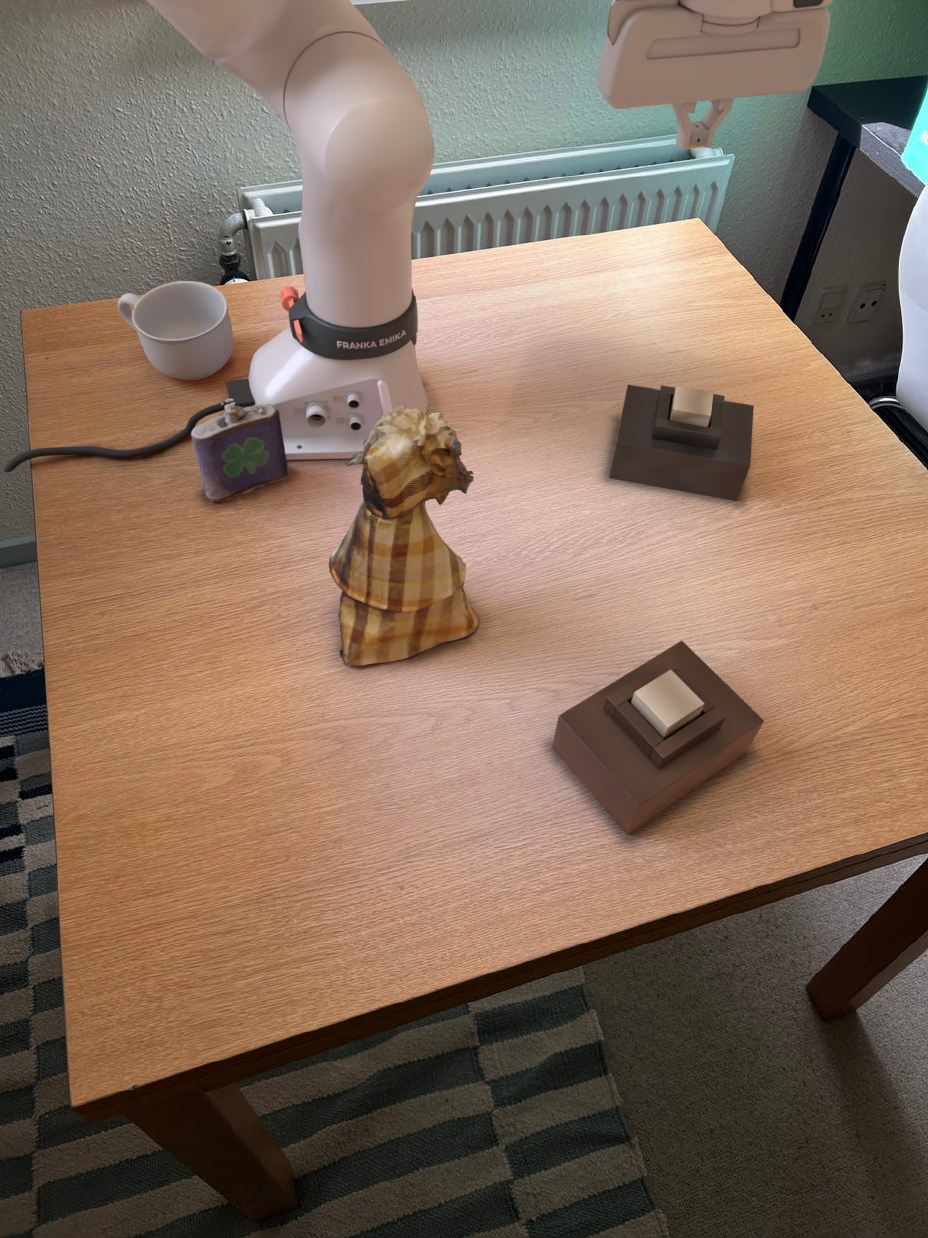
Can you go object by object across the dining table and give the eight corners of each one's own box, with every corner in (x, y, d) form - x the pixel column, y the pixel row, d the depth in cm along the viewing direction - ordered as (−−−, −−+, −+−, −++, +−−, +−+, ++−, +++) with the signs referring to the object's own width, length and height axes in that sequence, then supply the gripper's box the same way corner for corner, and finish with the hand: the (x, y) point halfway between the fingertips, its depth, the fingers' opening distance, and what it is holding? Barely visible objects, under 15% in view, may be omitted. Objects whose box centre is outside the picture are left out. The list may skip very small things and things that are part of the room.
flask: (211, 506, 96) (191, 427, 88) (201, 489, 98) (180, 409, 89) (292, 477, 99) (280, 398, 91) (281, 461, 101) (268, 381, 92)
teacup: (257, 358, 112) (247, 300, 105) (196, 405, 106) (181, 347, 100) (172, 319, 116) (157, 261, 110) (109, 363, 110) (89, 304, 104)
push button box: (627, 835, 75) (642, 796, 69) (551, 746, 80) (560, 703, 74) (747, 751, 80) (771, 709, 75) (669, 673, 85) (686, 627, 80)
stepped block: (608, 478, 101) (619, 428, 95) (620, 420, 107) (630, 370, 101) (737, 501, 99) (755, 452, 94) (741, 441, 105) (758, 392, 100)
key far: (669, 422, 97) (672, 408, 95) (672, 398, 99) (676, 385, 98) (707, 428, 96) (711, 415, 95) (709, 404, 99) (713, 391, 97)
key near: (663, 739, 73) (668, 727, 72) (630, 703, 75) (634, 692, 74) (699, 715, 75) (704, 703, 73) (666, 681, 77) (670, 669, 75)
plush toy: (304, 560, 91) (299, 395, 69) (433, 528, 94) (468, 361, 72) (347, 685, 86) (356, 551, 63) (482, 646, 89) (535, 506, 67)
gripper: (627, -3, 72) (601, 172, 83) (857, -19, 76) (803, 150, 87) (599, -31, 76) (578, 140, 87) (820, -45, 80) (773, 120, 91)
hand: (692, 145), depth 87 cm, fingers closed
